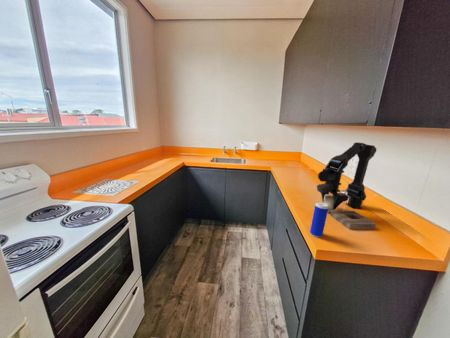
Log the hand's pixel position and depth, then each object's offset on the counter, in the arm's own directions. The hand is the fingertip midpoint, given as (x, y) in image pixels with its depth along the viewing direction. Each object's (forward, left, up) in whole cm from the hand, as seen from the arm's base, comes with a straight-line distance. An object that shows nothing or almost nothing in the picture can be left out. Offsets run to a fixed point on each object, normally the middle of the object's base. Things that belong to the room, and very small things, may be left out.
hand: (328, 205), depth 105 cm
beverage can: (+22, -21, -4) cm, 31 cm away
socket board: (+11, +6, -4) cm, 13 cm away
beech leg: (0, 0, -4) cm, 4 cm away
